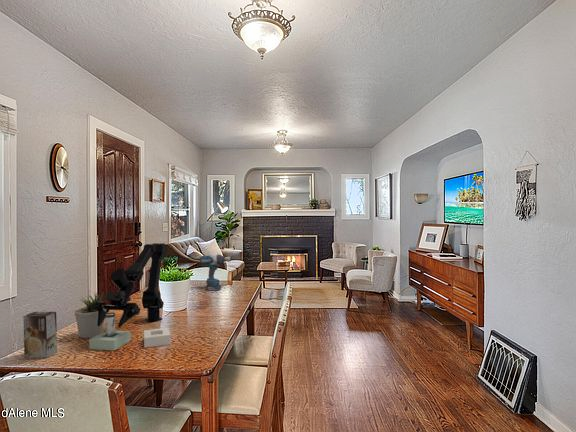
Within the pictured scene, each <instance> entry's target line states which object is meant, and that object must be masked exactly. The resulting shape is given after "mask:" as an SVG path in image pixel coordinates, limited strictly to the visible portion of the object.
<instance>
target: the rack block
mask: <svg viewBox="0 0 576 432" xmlns="http://www.w3.org/2000/svg"><path fill="white" fill-rule="evenodd" d="M131 334H132V333H131V331H130V330H115V336H114V337H106V330H103V331H102V333H100V334H98V335H97V336H95V337H92V338H88V339H89V340H88V341H89V350H99V351H114V350H115V351H116V350H118V349H119V348H121V347H123V346H124V345H126V344H127V343H129V342H131Z"/></svg>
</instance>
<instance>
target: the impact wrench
mask: <svg viewBox="0 0 576 432" xmlns="http://www.w3.org/2000/svg"><path fill="white" fill-rule="evenodd" d="M198 261H199V264H200V267H202V268H208V278H206V282H205V283H206V286H205V287H206V291H208V292H209V291H210V292H217V291H220V290H221V289H222V284H221V283H220V279H218V278H215V276H214V275H215V273H216V271H217V270H218V267H219V266H220V265H222V264H224V263H225V262H228V263H229V262H231V261H232V257H231V256H226V257H225V256H224V255H222V254H220V253H219V254H207V255H202V256H200V257H199V260H198Z"/></svg>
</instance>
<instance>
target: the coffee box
mask: <svg viewBox="0 0 576 432" xmlns="http://www.w3.org/2000/svg"><path fill="white" fill-rule="evenodd" d="M22 318H23V352H24V357H23V358H24V359H42V358H45V359H48V358H49V357H51V356H53V355H54V354H56V353H58V337H57V334H58V330H57V329H58V328H57V325H58V324H57V311H34V312H31V313H28V314H26V315H24V316H23V317H22Z"/></svg>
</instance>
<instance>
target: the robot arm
mask: <svg viewBox="0 0 576 432" xmlns="http://www.w3.org/2000/svg"><path fill="white" fill-rule="evenodd" d="M167 252H168V246H167V245H166V243H163V242H161V243H160V242H159V243H157V242H155V243H146V244H144V245H143V248H142V250H141V251H140V253H139V255H138V256H137V258H136V260H135V261H134V263H133V264H131V265H129V266H128V267H127V268H126V269H124V268H123V267H119V268H118V269H117V270H114V271H113V272H112V273H111V274H110V275H109V279H110V280H111V282H112V283H113V284H114V286H115V287H116V288H117V289H118V290H117V291H106V293H105V297H104V302H103V301H102V302H101V301H98V302H96V303H95V304H94V306H93V307H94V308H95V309H96V310H97V311H98V323H97V326H100V325H101V324H102V322H103V321H104V322H105V320H106V313H110V311H111V310H112V311H123V312H122V316H121V318H120V319H119V321H118V324H117V327H118V328H121V327H122V326H123V325H124V324H126V322H128V321H130V320H131V319H132V318H133V317H135V316H138V315H139V314H140V313H141V308H140V307H139V305H138V304H137V303H136V302H131V300H132V298H131V296H132V295H133V292H134V291H137V286H136V284H135V283H139V282H141V280H142V278H143V276H144V274H145V273H144V268H145V267H146V265H147V264H148V262H149V260H150V259H151V264H150V269H149V270H150V271H149V277H148V285H147V288H146V290H143V291H142V297H141V304H142V308H143V309H147V318H144V321H147V322H149V323H153V322H157V321H161V320H163V317H160V313H161V312H160V310H161V309H163V308H164V305H165V304H164V301H163V300H162V298H161V292H160V290H159V285H160V277H161V276H160V275H161V268H162V261H163V260H164V259H165V258H166V256H167ZM105 301H106V302H105ZM107 301H108V303H109V304H108V303H107Z"/></svg>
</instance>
